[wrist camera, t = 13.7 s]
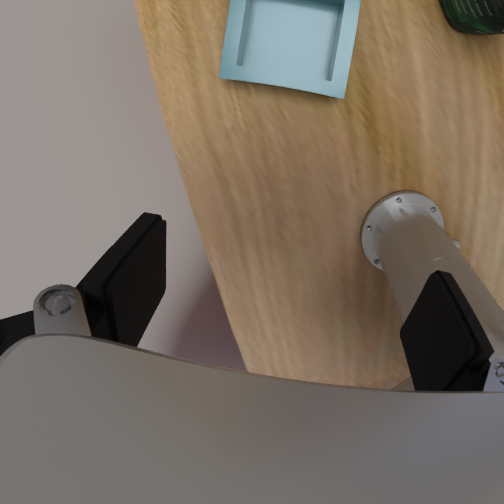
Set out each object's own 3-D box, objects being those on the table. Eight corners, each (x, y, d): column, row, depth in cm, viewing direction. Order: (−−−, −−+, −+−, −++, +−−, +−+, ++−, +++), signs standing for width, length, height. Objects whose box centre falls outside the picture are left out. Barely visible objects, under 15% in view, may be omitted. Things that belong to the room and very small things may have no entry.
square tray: (353, 0, 26) (362, -10, 22) (336, 96, 33) (343, 99, 29) (242, -18, 27) (236, -31, 22) (227, 78, 34) (218, 78, 29)
